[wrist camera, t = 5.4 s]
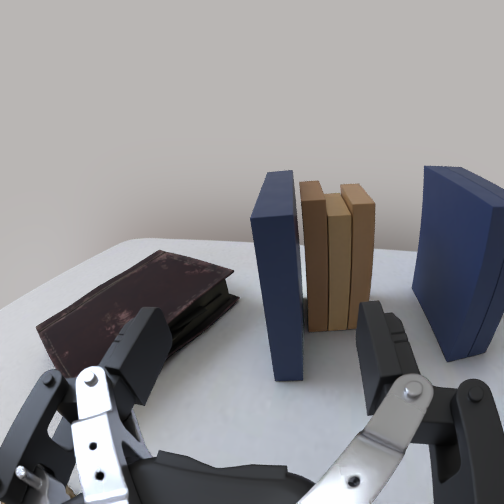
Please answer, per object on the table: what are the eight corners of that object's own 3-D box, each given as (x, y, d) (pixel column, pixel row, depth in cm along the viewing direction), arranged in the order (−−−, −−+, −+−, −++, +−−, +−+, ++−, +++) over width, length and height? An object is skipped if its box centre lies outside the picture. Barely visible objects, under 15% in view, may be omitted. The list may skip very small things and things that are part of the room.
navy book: (302, 296, 38) (292, 169, 30) (303, 380, 26) (293, 214, 18) (282, 297, 38) (267, 172, 31) (274, 381, 26) (249, 218, 18)
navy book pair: (444, 284, 34) (461, 167, 26) (485, 352, 22) (533, 207, 14) (411, 287, 35) (423, 165, 27) (446, 362, 23) (492, 206, 15)
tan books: (356, 293, 37) (358, 178, 30) (365, 328, 30) (375, 196, 23) (307, 296, 38) (299, 181, 31) (308, 332, 32) (301, 200, 25)
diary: (49, 348, 33) (33, 323, 31) (164, 271, 50) (156, 247, 47) (98, 425, 22) (72, 397, 20) (244, 302, 39) (238, 270, 36)
